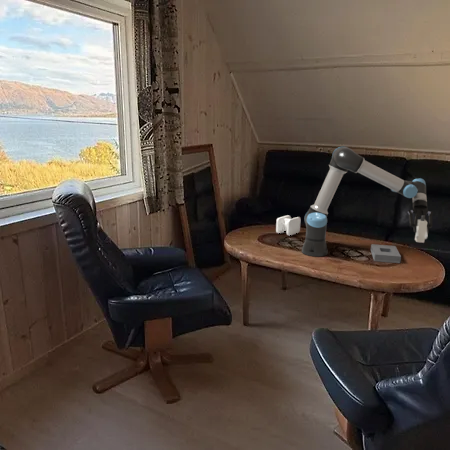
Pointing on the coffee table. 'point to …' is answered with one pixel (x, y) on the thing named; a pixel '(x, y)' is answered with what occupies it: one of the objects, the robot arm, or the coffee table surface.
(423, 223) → the plug
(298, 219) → the cable organizer
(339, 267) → the coffee table surface
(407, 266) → the coffee table surface
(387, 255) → the socket panel
